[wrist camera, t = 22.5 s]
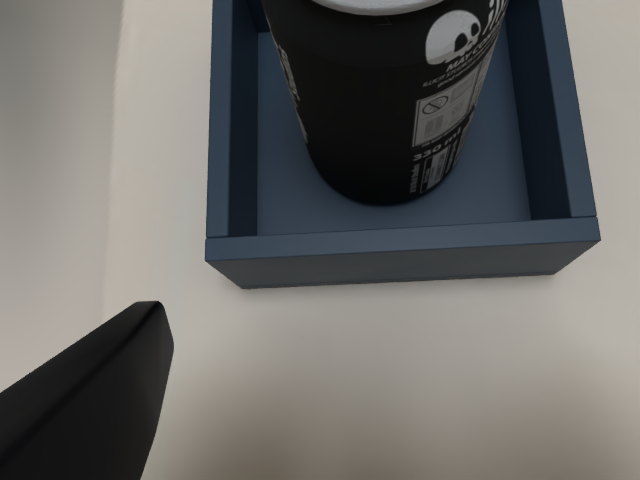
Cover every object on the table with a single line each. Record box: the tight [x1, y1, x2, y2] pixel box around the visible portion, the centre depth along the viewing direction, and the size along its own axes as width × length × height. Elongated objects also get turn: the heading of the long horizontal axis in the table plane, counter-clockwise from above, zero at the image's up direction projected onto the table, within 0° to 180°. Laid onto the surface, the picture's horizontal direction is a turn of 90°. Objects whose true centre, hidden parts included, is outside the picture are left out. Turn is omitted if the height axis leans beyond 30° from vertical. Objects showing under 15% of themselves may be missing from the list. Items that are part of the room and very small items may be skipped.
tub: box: [205, 0, 601, 289], centre depth 22 cm, size 13×13×5 cm
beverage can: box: [261, 0, 509, 202], centre depth 18 cm, size 7×7×12 cm
